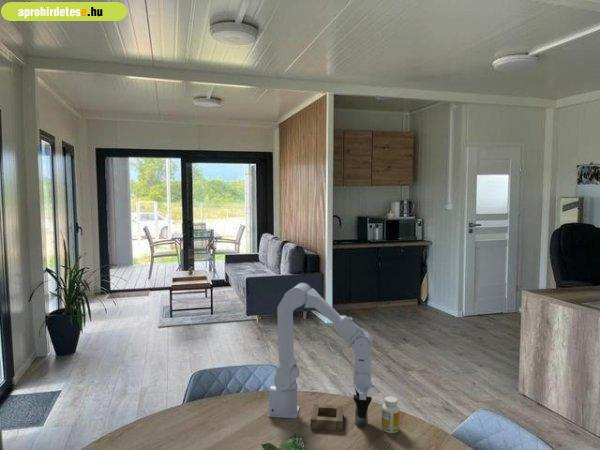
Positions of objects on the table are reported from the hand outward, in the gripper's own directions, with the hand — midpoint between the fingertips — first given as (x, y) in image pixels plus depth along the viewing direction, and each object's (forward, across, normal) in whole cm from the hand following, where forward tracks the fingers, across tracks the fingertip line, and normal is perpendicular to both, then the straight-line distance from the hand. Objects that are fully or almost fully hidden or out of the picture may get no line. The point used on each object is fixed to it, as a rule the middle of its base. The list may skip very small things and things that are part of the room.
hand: (361, 411), depth 137 cm
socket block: (+4, 0, +11) cm, 12 cm away
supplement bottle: (+4, -2, -9) cm, 10 cm away
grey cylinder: (+4, 0, 0) cm, 4 cm away
